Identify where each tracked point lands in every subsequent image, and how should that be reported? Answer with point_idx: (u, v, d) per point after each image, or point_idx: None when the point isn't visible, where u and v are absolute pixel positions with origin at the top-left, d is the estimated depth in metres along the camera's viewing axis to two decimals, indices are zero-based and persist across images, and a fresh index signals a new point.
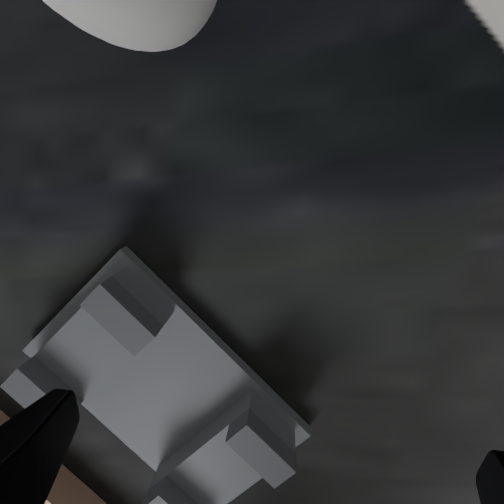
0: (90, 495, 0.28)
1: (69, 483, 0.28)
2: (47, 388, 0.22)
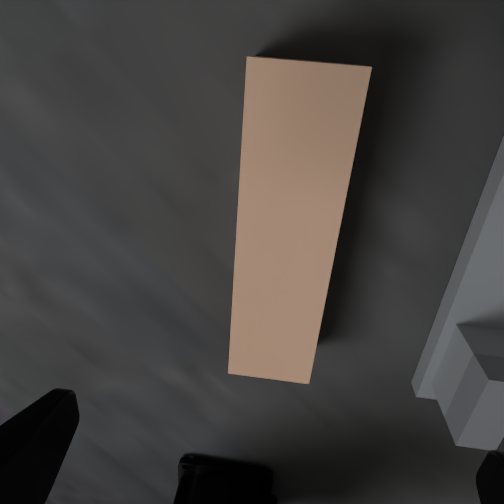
0: None
1: None
2: None
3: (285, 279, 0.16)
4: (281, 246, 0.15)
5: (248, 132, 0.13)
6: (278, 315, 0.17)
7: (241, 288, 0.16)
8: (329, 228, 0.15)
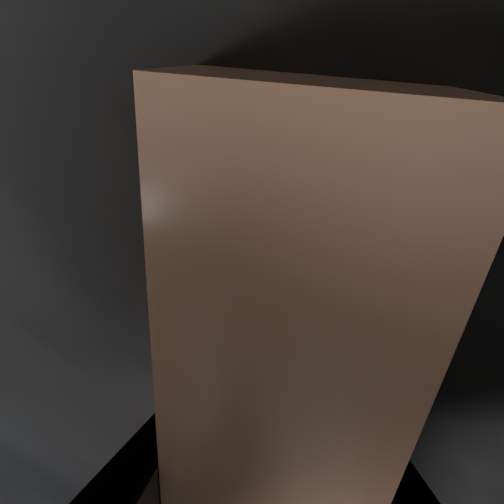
0: None
1: None
2: None
3: None
4: (262, 497, 0.07)
5: (161, 278, 0.05)
6: None
7: None
8: (374, 478, 0.06)
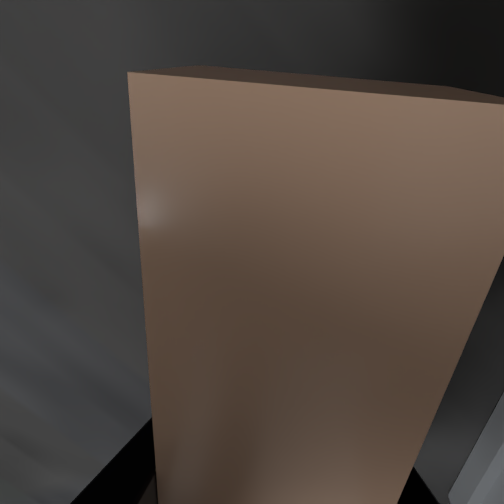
0: None
1: None
2: None
3: None
4: None
5: (158, 284, 0.05)
6: None
7: None
8: (376, 486, 0.06)
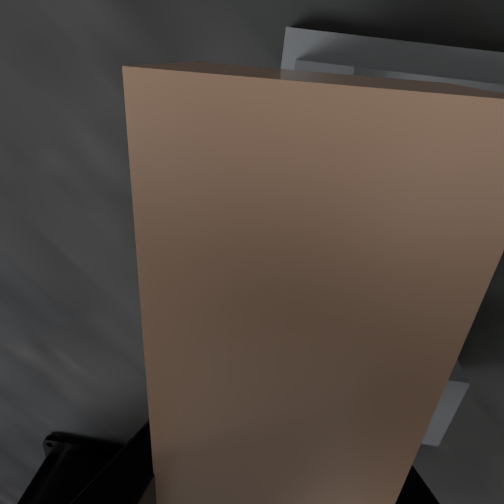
0: None
1: None
2: None
3: None
4: None
5: (154, 281, 0.05)
6: None
7: None
8: (374, 486, 0.06)
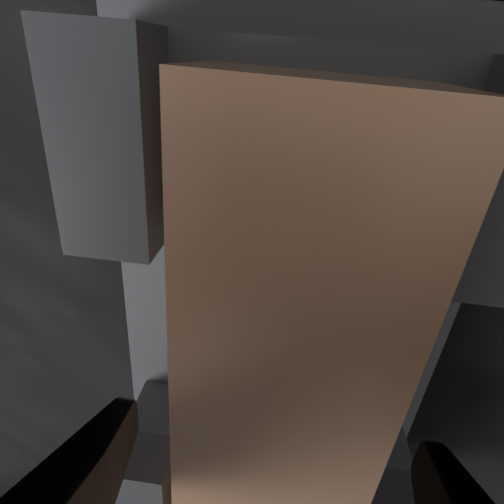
0: None
1: None
2: (150, 152, 0.07)
3: None
4: (265, 464, 0.07)
5: (178, 253, 0.05)
6: None
7: None
8: (370, 443, 0.07)
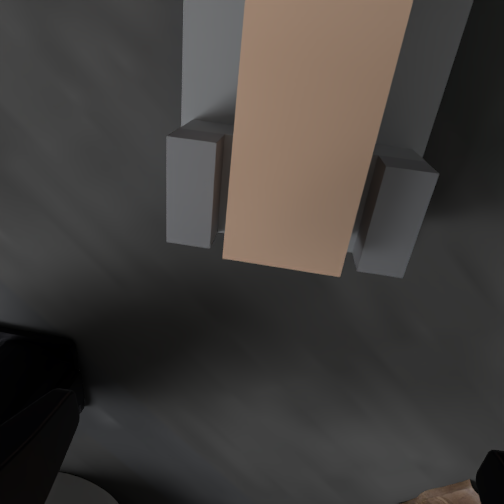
0: None
1: None
2: None
3: (320, 81, 0.10)
4: (319, 12, 0.09)
5: None
6: (303, 153, 0.11)
7: (249, 101, 0.10)
8: None
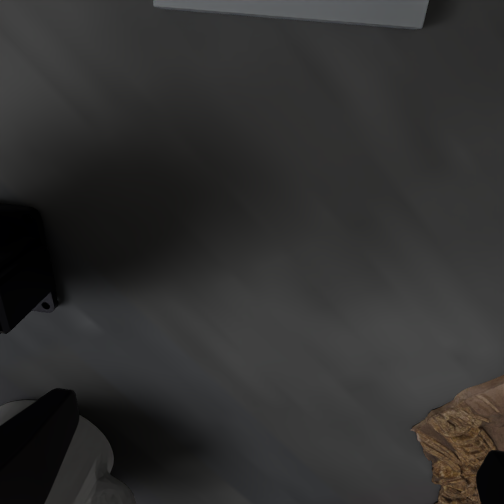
0: None
1: None
2: None
3: None
4: None
5: None
6: None
7: None
8: None
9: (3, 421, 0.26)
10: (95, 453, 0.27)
